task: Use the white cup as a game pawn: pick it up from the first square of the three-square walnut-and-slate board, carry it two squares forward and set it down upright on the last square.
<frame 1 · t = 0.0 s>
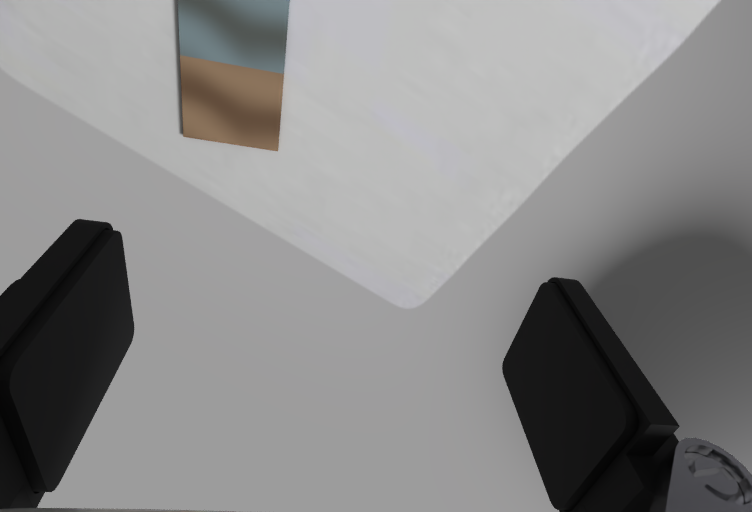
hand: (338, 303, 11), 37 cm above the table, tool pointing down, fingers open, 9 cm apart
game board: (234, 18, 40), on the table
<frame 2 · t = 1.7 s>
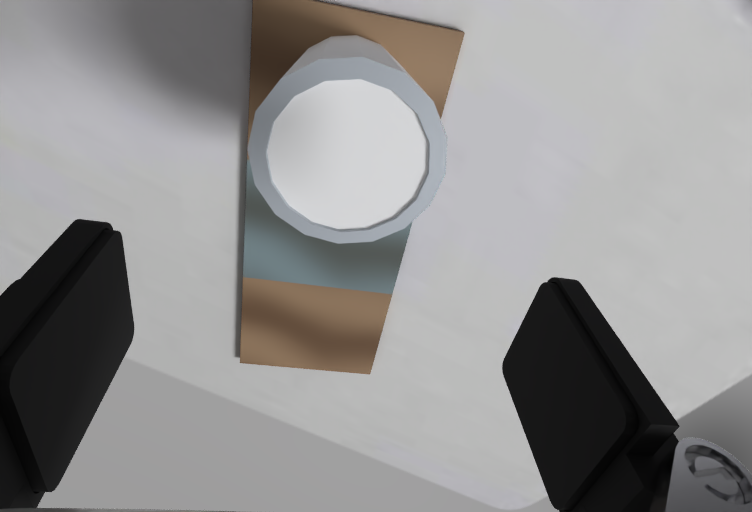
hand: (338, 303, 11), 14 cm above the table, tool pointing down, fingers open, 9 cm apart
white cup: (348, 99, 22), resting on game board
game board: (327, 230, 26), on the table
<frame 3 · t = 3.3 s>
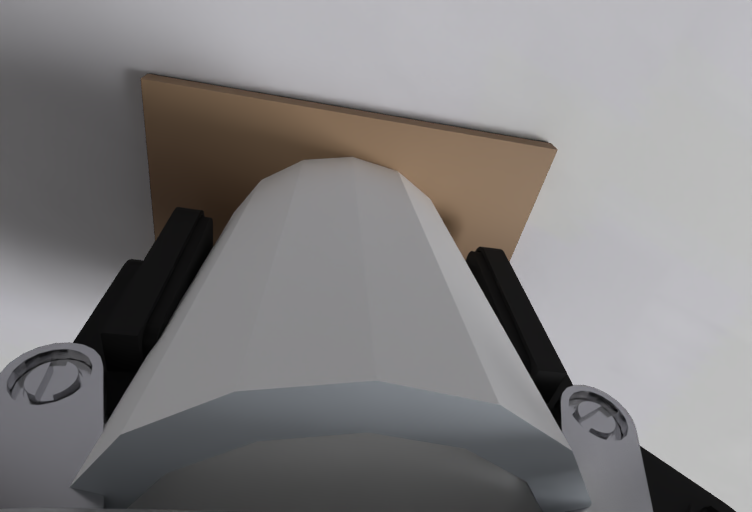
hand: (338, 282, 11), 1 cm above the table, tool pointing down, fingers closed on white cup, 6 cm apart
white cup: (338, 254, 12), resting on game board, touching gripper
game board: (308, 423, 16), on the table
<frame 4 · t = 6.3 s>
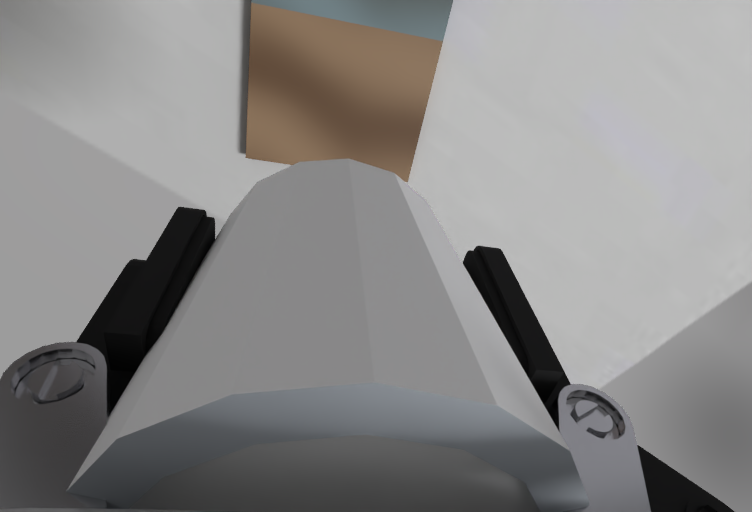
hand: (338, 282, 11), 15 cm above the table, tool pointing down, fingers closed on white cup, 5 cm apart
white cup: (335, 256, 12), point 14 cm above the table, touching gripper
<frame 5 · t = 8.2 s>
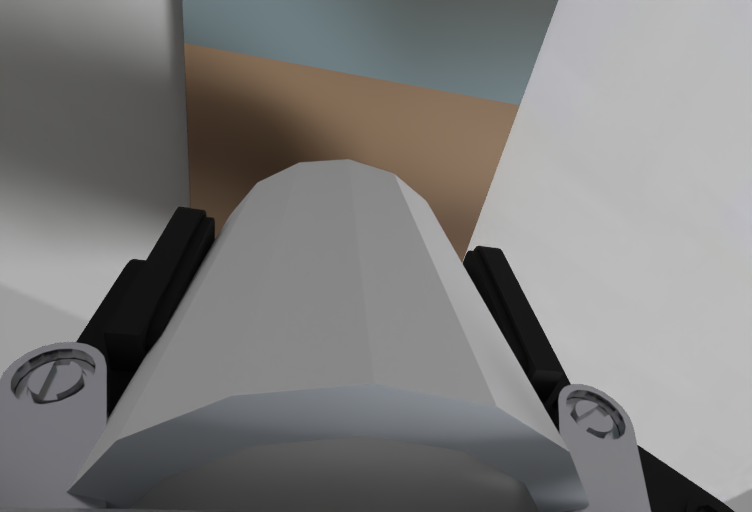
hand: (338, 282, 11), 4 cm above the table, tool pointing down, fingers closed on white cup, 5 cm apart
white cup: (335, 256, 12), point 3 cm above the table, touching gripper
when the fingers open (2 cm above the table, at t = 9.6 s): white cup drops 1 cm, resting on game board.
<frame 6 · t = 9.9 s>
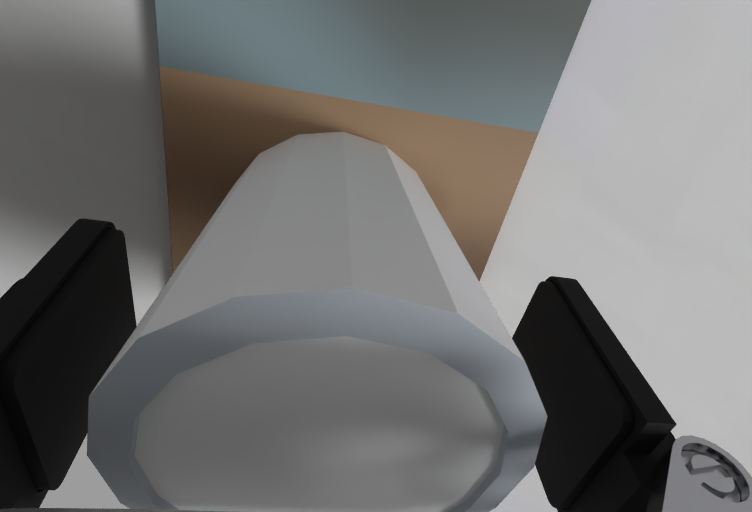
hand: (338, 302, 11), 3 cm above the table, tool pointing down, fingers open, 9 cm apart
white cup: (331, 226, 13), resting on game board
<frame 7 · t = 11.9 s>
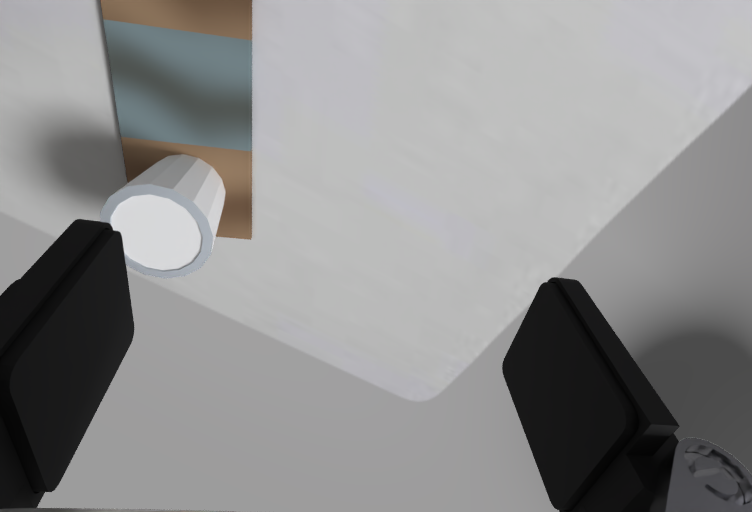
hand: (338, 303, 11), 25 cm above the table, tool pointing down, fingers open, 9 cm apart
white cup: (188, 188, 35), resting on game board
game board: (184, 89, 32), on the table
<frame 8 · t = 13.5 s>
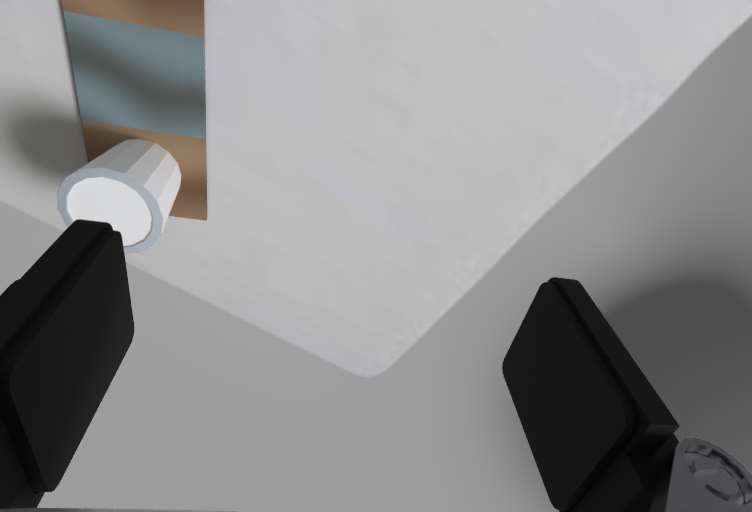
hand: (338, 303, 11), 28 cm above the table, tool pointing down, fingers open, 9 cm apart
white cup: (146, 170, 38), resting on game board
game board: (141, 78, 34), on the table
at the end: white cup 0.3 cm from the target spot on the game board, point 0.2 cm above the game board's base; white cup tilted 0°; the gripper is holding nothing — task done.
